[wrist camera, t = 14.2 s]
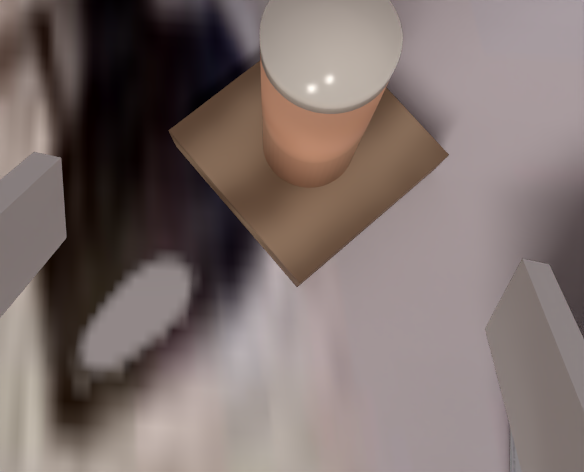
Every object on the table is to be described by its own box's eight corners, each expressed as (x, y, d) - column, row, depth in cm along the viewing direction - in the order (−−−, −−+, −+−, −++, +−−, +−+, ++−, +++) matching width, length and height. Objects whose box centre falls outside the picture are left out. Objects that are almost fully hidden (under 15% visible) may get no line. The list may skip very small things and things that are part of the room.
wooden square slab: (176, 146, 38) (168, 130, 35) (315, 38, 40) (319, 15, 37) (297, 287, 37) (299, 282, 34) (435, 168, 39) (448, 154, 36)
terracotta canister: (243, 137, 35) (230, 25, 23) (313, 82, 36) (337, -55, 23) (304, 206, 35) (324, 130, 22) (373, 148, 36) (432, 44, 23)
